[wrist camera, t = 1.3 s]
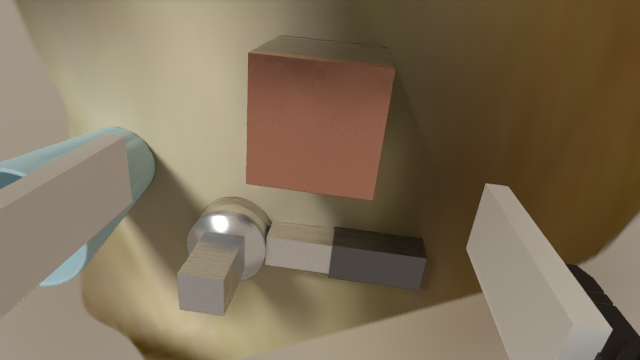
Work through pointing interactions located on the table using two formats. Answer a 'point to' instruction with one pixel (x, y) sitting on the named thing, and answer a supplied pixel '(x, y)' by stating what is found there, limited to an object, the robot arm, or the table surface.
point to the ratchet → (285, 254)
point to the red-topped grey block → (317, 115)
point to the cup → (23, 165)
